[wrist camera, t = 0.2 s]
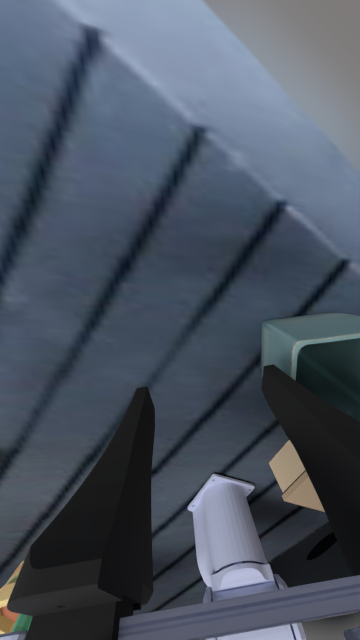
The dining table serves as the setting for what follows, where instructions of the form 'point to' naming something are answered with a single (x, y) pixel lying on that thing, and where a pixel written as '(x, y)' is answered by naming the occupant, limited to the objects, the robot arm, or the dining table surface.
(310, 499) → the mailer lid
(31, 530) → the dining table surface
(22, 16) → the dining table surface
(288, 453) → the box
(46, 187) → the dining table surface
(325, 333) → the flower pot
